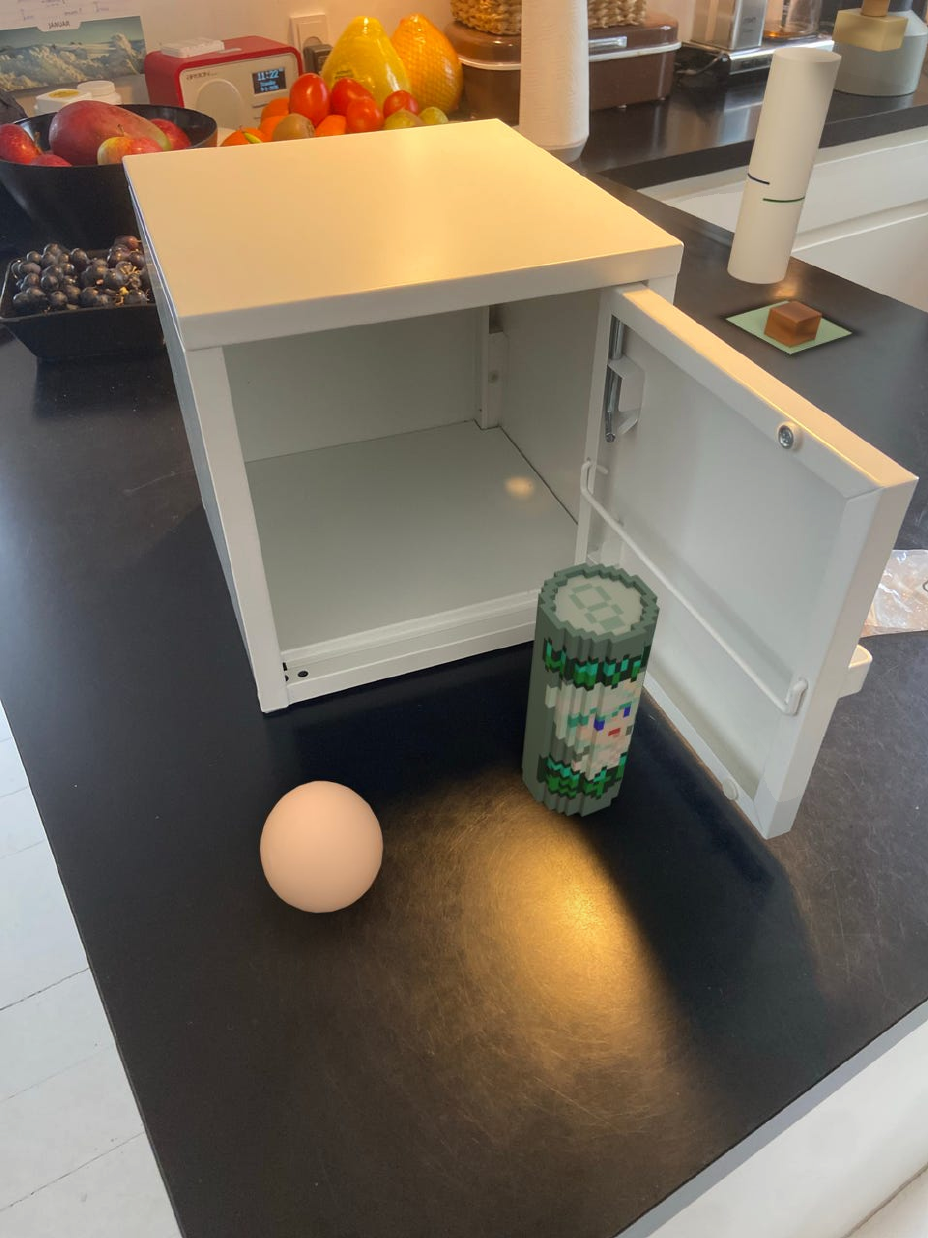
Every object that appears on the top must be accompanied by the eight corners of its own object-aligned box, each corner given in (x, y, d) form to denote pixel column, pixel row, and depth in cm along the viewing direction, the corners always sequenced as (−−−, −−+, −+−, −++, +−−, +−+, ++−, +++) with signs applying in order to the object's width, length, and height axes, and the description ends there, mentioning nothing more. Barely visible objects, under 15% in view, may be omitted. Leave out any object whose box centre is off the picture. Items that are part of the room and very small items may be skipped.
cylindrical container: (745, 264, 120) (795, 43, 103) (793, 281, 116) (853, 55, 99) (714, 279, 116) (760, 53, 99) (763, 297, 112) (820, 65, 95)
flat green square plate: (783, 309, 110) (786, 300, 109) (849, 342, 104) (852, 332, 103) (723, 328, 106) (725, 318, 105) (787, 363, 100) (790, 353, 99)
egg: (406, 900, 52) (402, 819, 46) (299, 959, 49) (281, 880, 44) (353, 817, 56) (343, 733, 51) (251, 866, 53) (229, 784, 48)
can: (553, 828, 56) (578, 655, 45) (507, 756, 60) (521, 581, 49) (637, 794, 58) (679, 620, 47) (587, 726, 62) (616, 553, 51)
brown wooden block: (788, 325, 104) (795, 300, 102) (815, 339, 102) (822, 313, 100) (763, 333, 103) (769, 307, 101) (789, 347, 100) (797, 321, 98)
